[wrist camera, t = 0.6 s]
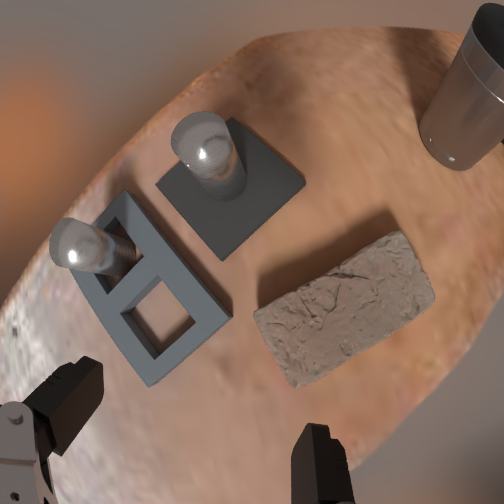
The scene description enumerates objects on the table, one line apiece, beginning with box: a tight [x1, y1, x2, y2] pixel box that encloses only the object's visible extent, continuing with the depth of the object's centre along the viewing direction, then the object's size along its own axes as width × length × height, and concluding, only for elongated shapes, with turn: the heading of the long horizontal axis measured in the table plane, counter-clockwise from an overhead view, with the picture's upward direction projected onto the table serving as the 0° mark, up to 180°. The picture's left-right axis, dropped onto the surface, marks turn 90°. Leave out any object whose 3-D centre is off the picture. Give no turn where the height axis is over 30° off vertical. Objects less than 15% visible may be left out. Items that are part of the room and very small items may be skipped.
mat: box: [155, 117, 306, 261], centre depth 32 cm, size 12×12×1 cm
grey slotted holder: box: [69, 190, 233, 388], centre depth 31 cm, size 12×19×2 cm, turn 42°
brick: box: [253, 231, 435, 388], centre depth 27 cm, size 16×8×5 cm, turn 119°
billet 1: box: [49, 218, 136, 277], centre depth 28 cm, size 5×5×10 cm
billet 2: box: [171, 111, 247, 202], centre depth 27 cm, size 5×5×10 cm
